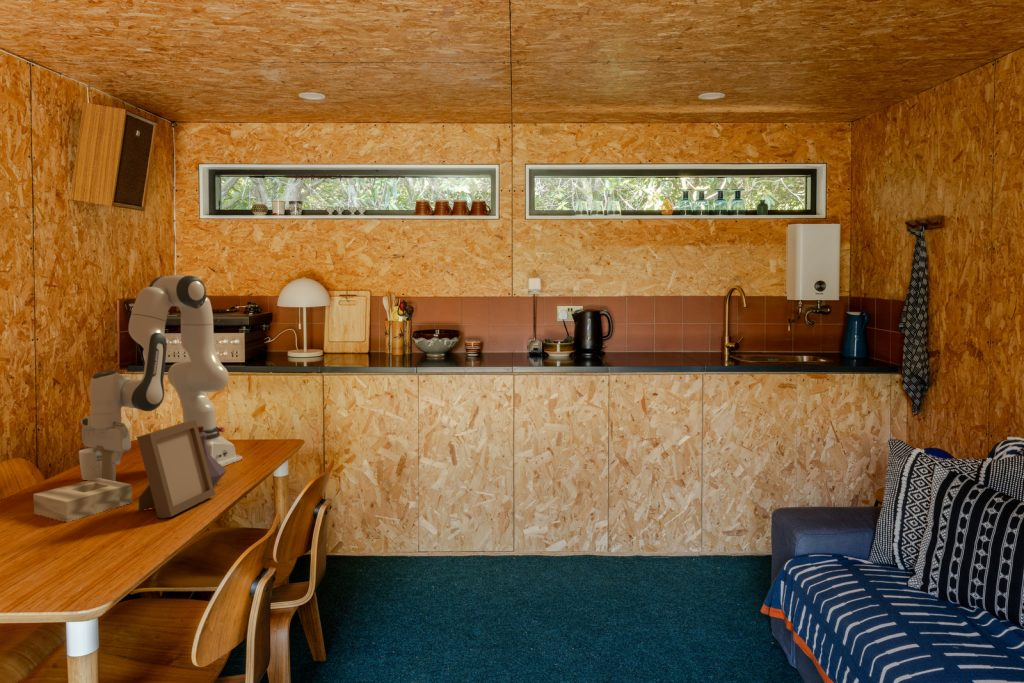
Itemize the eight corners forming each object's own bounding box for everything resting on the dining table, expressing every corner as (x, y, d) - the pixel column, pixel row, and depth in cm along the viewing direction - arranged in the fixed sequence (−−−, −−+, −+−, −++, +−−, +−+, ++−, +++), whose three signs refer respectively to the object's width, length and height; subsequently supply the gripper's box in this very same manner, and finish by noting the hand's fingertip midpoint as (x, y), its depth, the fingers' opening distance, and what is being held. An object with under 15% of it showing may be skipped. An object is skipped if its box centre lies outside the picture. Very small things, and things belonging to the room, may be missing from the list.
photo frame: (215, 497, 230) (212, 420, 228) (171, 519, 209) (167, 434, 207) (173, 495, 233) (169, 419, 231) (126, 517, 212) (121, 433, 210)
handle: (116, 491, 236) (114, 446, 235) (95, 492, 236) (93, 446, 235) (122, 487, 241) (121, 443, 240) (102, 487, 241) (100, 443, 239)
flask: (173, 494, 234) (171, 433, 232) (175, 481, 249) (173, 424, 247) (228, 489, 240) (226, 429, 238) (226, 476, 255) (224, 420, 253)
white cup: (111, 476, 254) (110, 448, 254) (91, 482, 247) (90, 453, 246) (94, 474, 257) (93, 447, 256) (74, 480, 250) (73, 451, 249)
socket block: (99, 496, 231) (98, 477, 231) (131, 503, 224) (131, 484, 224) (34, 513, 214) (33, 494, 213) (67, 522, 206) (66, 501, 206)
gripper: (135, 422, 234) (136, 464, 235) (96, 416, 244) (97, 456, 245) (117, 425, 229) (118, 468, 230) (77, 419, 238) (78, 460, 239)
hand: (107, 462), depth 237 cm, fingers open, 8 cm apart
